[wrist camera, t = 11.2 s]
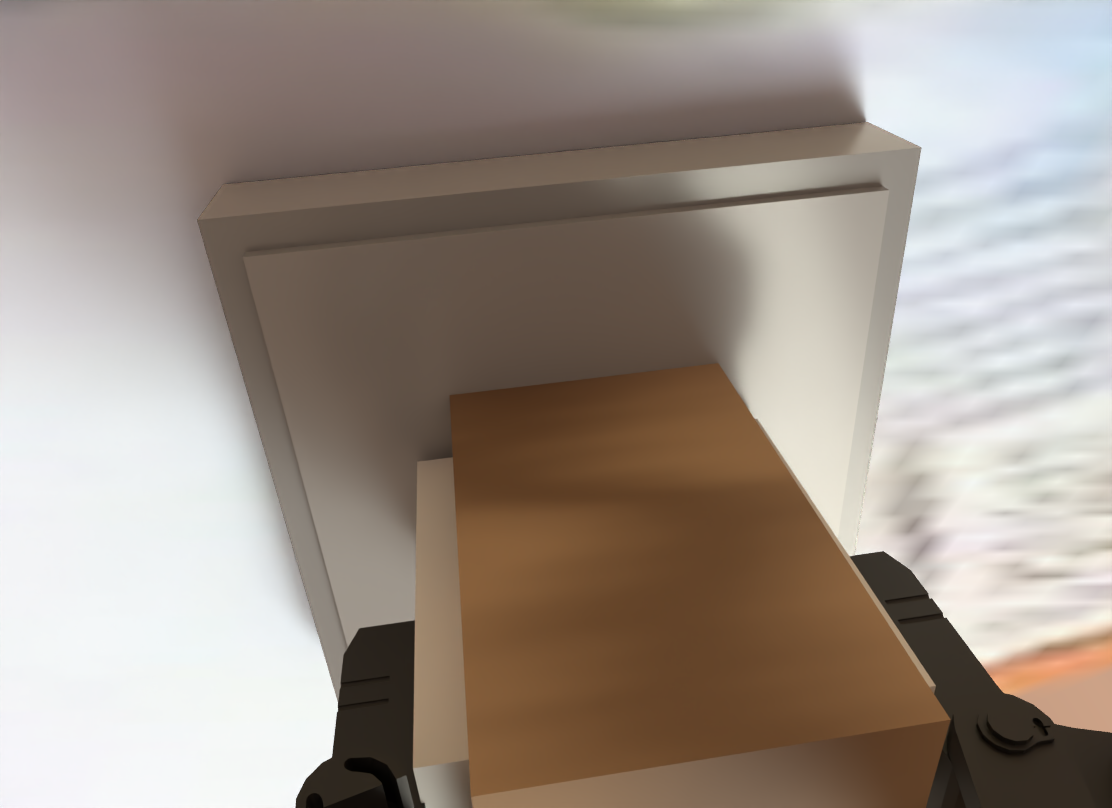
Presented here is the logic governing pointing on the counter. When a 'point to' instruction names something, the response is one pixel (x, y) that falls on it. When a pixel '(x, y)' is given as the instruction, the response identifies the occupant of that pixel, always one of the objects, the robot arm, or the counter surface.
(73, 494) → the counter surface
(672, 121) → the counter surface
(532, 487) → the block
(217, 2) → the counter surface
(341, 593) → the board
